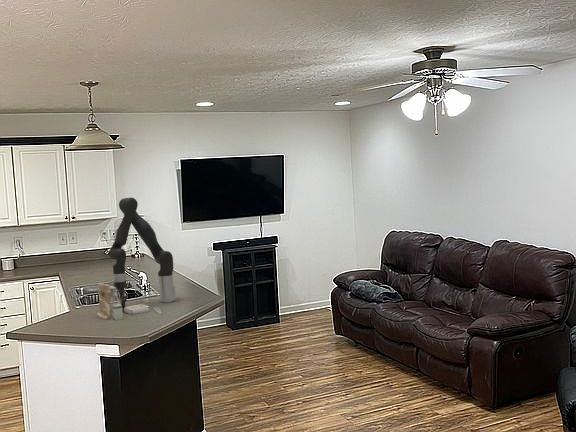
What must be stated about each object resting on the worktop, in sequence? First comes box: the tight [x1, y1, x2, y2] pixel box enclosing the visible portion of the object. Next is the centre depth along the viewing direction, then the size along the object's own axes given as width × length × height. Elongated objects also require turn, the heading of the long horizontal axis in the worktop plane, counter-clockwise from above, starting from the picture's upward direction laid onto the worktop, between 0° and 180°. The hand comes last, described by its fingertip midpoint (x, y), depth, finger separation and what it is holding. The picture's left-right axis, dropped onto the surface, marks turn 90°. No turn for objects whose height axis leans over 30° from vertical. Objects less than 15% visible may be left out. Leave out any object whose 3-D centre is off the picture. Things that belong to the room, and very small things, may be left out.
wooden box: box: [96, 282, 117, 320], centre depth 363 cm, size 9×16×20 cm, turn 36°
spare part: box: [116, 297, 127, 312], centre depth 376 cm, size 4×4×8 cm
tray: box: [123, 303, 151, 316], centre depth 371 cm, size 12×12×3 cm
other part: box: [112, 303, 124, 321], centre depth 354 cm, size 4×4×8 cm
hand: (122, 307), depth 377 cm, fingers closed on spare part, 4 cm apart
